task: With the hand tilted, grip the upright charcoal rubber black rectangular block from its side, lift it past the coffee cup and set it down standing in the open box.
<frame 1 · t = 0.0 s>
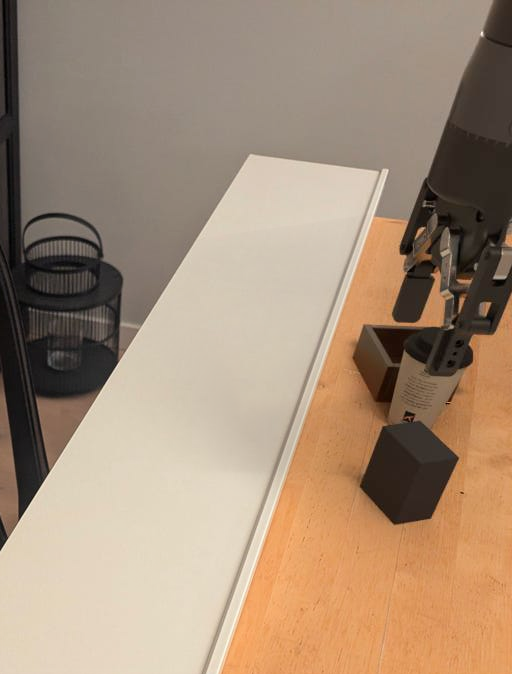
hand: (420, 346, 72), 19 cm above the table, tool pointing down, fingers open, 8 cm apart
coffee cup: (408, 425, 99), on the table
open box: (399, 380, 105), on the table
black rectangular block: (388, 516, 87), on the table
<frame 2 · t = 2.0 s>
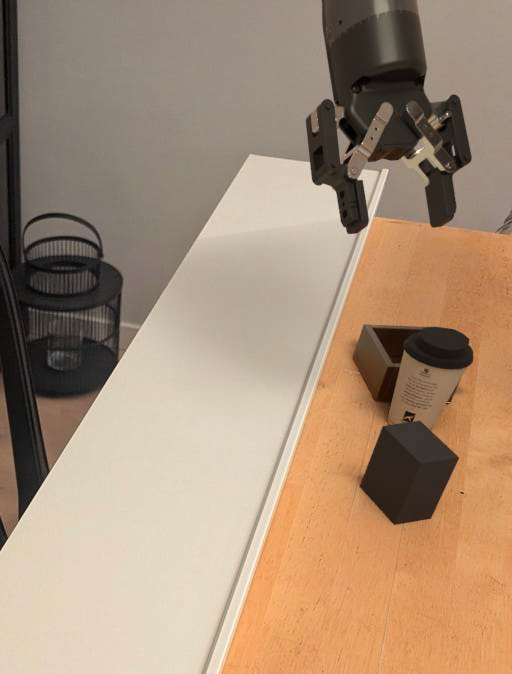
hand: (401, 227, 78), 23 cm above the table, tool tilted 45°, fingers open, 8 cm apart
nothing on the table moved.
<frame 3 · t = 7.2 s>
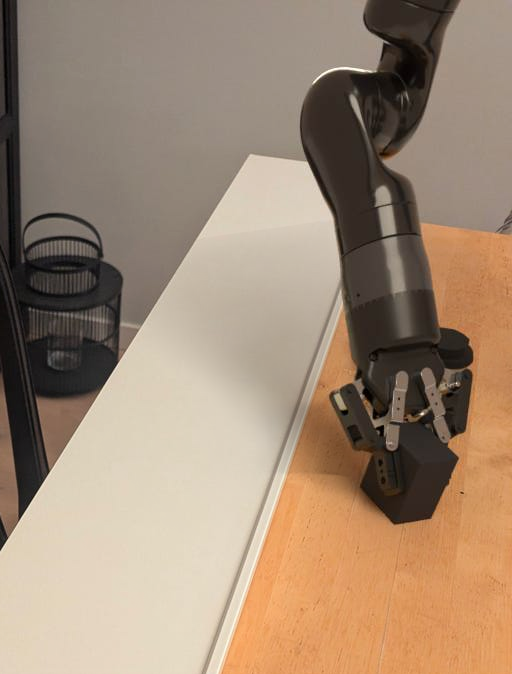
hand: (417, 490, 83), 5 cm above the table, tool tilted 45°, fingers closed on black rectangular block, 4 cm apart
black rectangular block: (388, 516, 87), on the table, touching gripper
everything else where it was.
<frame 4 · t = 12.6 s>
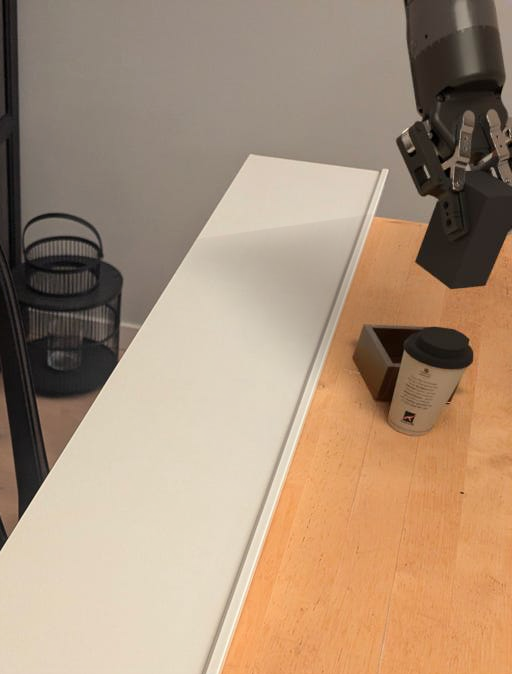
hand: (481, 235, 85), 20 cm above the table, tool tilted 45°, fingers closed on black rectangular block, 4 cm apart
black rectangular block: (449, 273, 89), point 16 cm above the table, touching gripper
everything else where it was.
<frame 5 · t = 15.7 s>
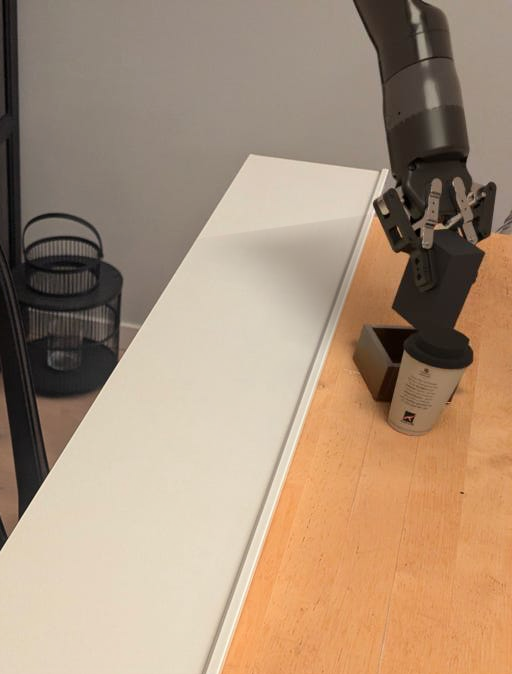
hand: (448, 287, 95), 12 cm above the table, tool tilted 45°, fingers closed on black rectangular block, 4 cm apart
black rectangular block: (421, 319, 100), point 7 cm above the table, touching gripper
everything else where it was.
when the fingers open (5 cm above the table, at t = 17.9 s): black rectangular block stays where it is, resting on open box.
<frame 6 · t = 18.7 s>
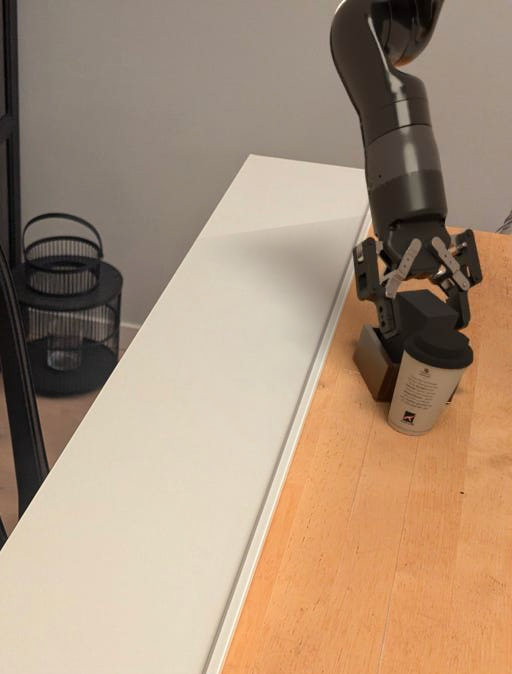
hand: (427, 332, 100), 7 cm above the table, tool tilted 45°, fingers open, 8 cm apart
black rectangular block: (400, 373, 105), point 1 cm above the table, touching open box
everything else where it was.
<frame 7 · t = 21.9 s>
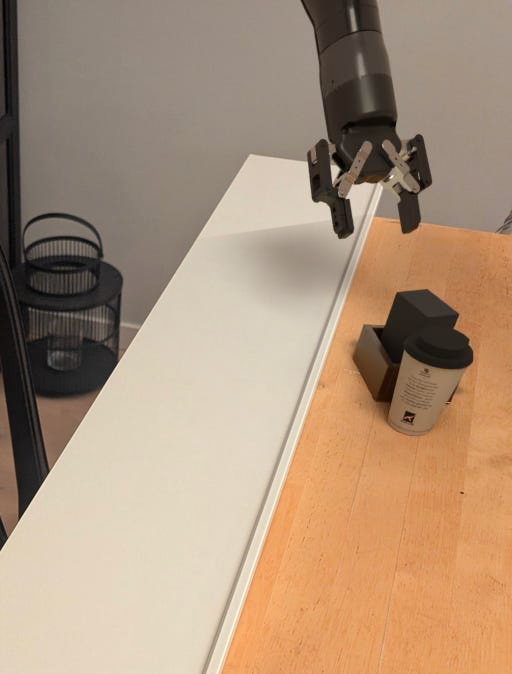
hand: (379, 233, 104), 12 cm above the table, tool tilted 45°, fingers open, 8 cm apart
nothing on the table moved.
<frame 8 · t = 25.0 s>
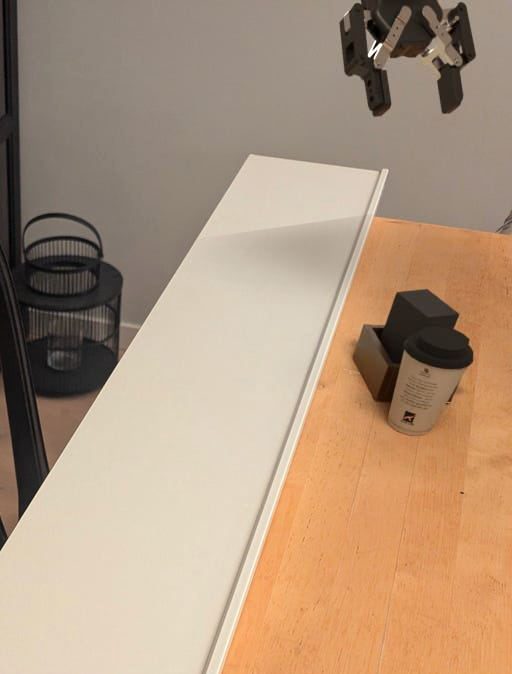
hand: (417, 111, 95), 25 cm above the table, tool tilted 45°, fingers open, 8 cm apart
nothing on the table moved.
at the end: black rectangular block inside the target area in the open box (0.1 cm from its centre), point 0.8 cm above the open box's base; black rectangular block tilted 0°; the gripper is holding nothing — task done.
